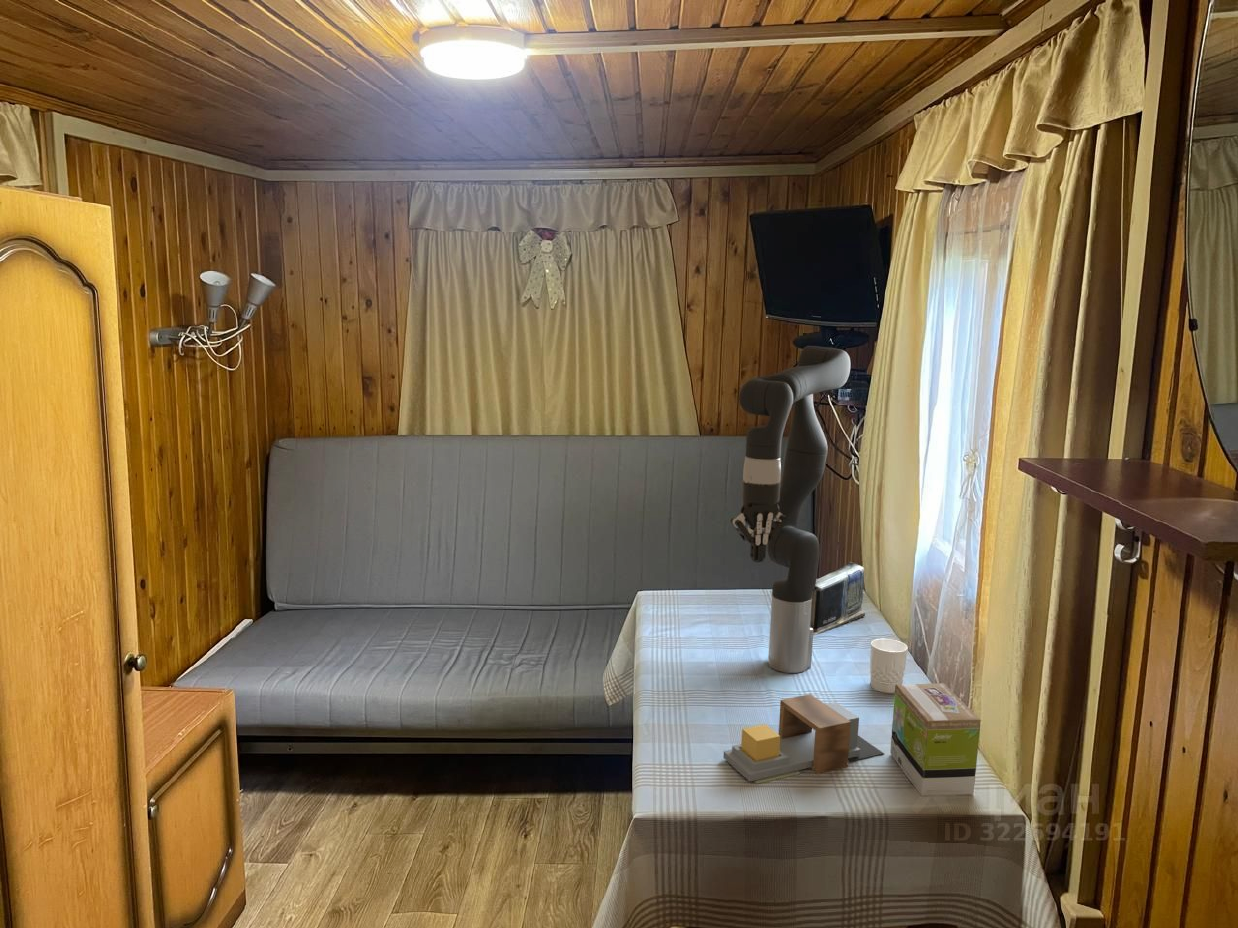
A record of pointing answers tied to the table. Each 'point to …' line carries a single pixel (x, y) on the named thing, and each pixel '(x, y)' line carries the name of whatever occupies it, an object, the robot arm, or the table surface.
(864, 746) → the mat
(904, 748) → the tea box
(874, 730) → the table surface
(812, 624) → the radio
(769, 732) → the block
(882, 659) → the white cup
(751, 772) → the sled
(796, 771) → the mat
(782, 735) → the tunnel
